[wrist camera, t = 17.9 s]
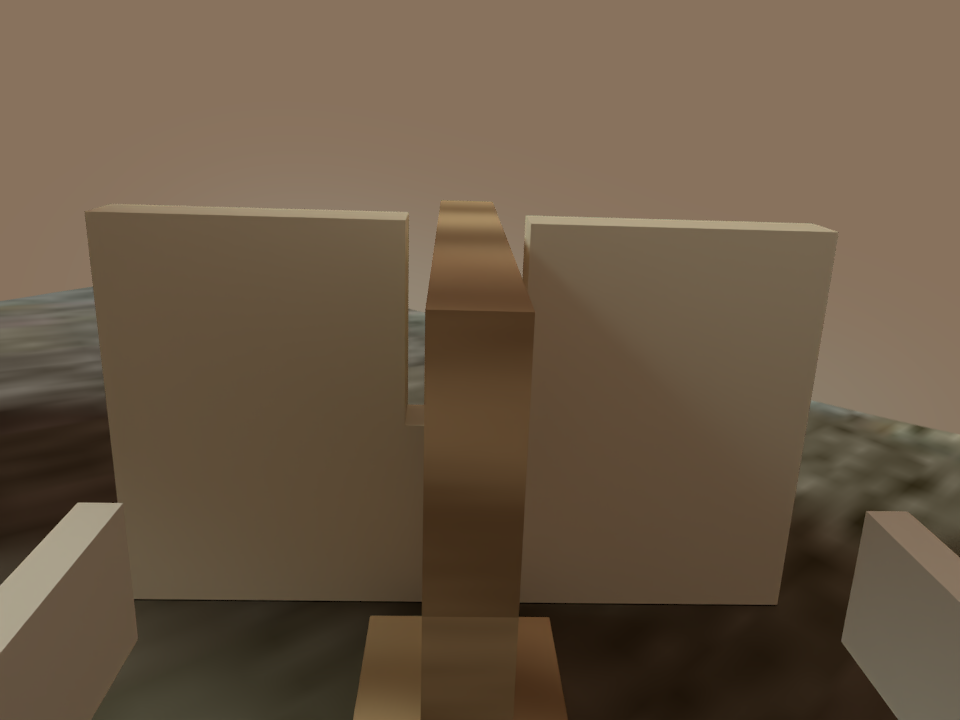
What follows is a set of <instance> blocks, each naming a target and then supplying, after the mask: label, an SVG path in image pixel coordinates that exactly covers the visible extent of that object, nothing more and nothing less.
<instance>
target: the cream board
mask: <svg viewBox="0 0 960 720" xmlns="http://www.w3.org/2000/svg"><path fill="white" fill-rule="evenodd" d="M85 219H86V228H87V237H88V246H89V255H90V264H91V272H92V281H93V290H94V299H95V308H96V316H97V325H98V334H99V343H100V352H101V360H102V369H103V378H104V387H105V396H106V404H107V413H108V422H109V431H110V440H111V448H112V457H113V466H114V475H115V484H116V492H117V501H118V503H123V507H124V516H125V525H126V534H127V543H128V552H129V561H130V570H131V579H132V588H133V597H134V599H189V600H299V601H408V602H422V559H423V475H424V405H408V261H409V260H408V259H409V258H408V257H409V255H408V254H409V253H408V252H409V251H408V250H409V246H408V245H409V212H382V211H347V210H343V211H342V210H311V209H309V210H308V209H274V208H240V207H204V206H203V207H201V206H167V205H164V206H163V205H132V204H108V205H105V206H101V207H98V208H95V209H91V210H88V211H85ZM525 222H526V223H525V241H524V262H523V282H524V285H525V287H526V290H527V292H528V295H529V298H530V300H531V303H532V305H533V308H534V310H535V324H534V343H533V362H532V380H531V399H530V417H529V436H528V455H527V473H526V492H525V510H524V529H523V548H522V566H521V585H520V603H627V604H736V605H777V603H778V597H779V591H780V585H781V579H782V573H783V567H784V561H785V555H786V549H787V543H788V537H789V530H790V524H791V518H792V512H793V506H794V500H795V494H796V488H797V482H798V476H799V470H800V464H801V457H802V451H803V445H804V439H805V433H806V427H807V421H808V415H809V409H810V403H811V397H812V391H813V384H814V378H815V372H816V366H817V360H818V354H819V348H820V342H821V335H822V329H823V324H824V317H825V311H826V305H827V299H828V293H829V286H830V281H831V275H832V269H833V263H834V256H835V251H836V244H837V238H838V232H836V231H833V230H830V229H827V228H824V227H821V226H818V225H815V224H811V223H774V222H739V221H704V220H702V221H701V220H668V219H667V220H666V219H632V218H595V217H560V216H559V217H558V216H526V221H525Z"/></svg>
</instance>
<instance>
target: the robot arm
mask: <svg viewBox="0 0 960 720" xmlns="http://www.w3.org/2000/svg"><path fill="white" fill-rule="evenodd" d="M137 640H138V632H137V623H136V614H135V606H134V597H133V588H132V579H131V570H130V561H129V552H128V543H127V534H126V525H125V516H124V507H123V503H77V504H76V505H75V506H74V507H73V508H72V509H71V510H70V511H69V513H68V514H67V515H66V516H65V517H64V518H63V519H62V520H61V521H60V522H59V523H58V524H57V525H56V526H55V528H54V529H53V530H52V531H51V532H50V533H49V534H48V535H47V536H46V537H45V538H44V539H43V540H42V541H41V543H40V544H39V545H38V546H37V547H36V548H35V549H34V550H33V551H32V552H31V553H30V554H29V555H28V556H27V558H26V559H25V560H24V561H23V562H22V563H21V564H20V565H19V566H18V567H17V568H16V569H15V570H14V571H13V573H12V574H11V575H10V576H9V577H8V578H7V579H6V580H5V581H4V582H3V583H2V584H1V585H0V720H91V719H92V717H93V716H94V714H95V712H96V711H97V709H98V707H99V705H100V704H101V702H102V700H103V699H104V697H105V695H106V693H107V692H108V690H109V688H110V686H111V685H112V683H113V681H114V680H115V678H116V676H117V674H118V673H119V671H120V669H121V668H122V666H123V664H124V662H125V661H126V659H127V657H128V656H129V654H130V652H131V650H132V649H133V647H134V645H135V644H136V642H137ZM841 642H842V643H843V645H844V646H845V647H846V649H847V650H848V652H849V653H850V654H851V656H852V657H853V658H854V660H855V661H856V663H857V664H858V665H859V667H860V668H861V669H862V671H863V672H864V674H865V675H866V676H867V678H868V679H869V680H870V682H871V683H872V684H873V686H874V687H875V689H876V690H877V691H878V693H879V694H880V695H881V697H882V698H883V700H884V701H885V702H886V704H887V705H888V706H889V708H890V709H891V711H892V712H893V713H894V715H895V716H896V717H897V719H898V720H960V557H958V556H957V555H956V554H955V553H954V552H953V551H952V550H951V549H949V548H948V547H947V546H946V545H945V544H944V543H943V542H942V541H940V540H939V539H938V538H937V537H936V536H935V535H934V534H933V533H931V532H930V531H929V530H928V529H927V528H926V527H925V526H924V525H922V524H921V523H920V522H919V521H918V520H917V519H916V518H915V517H913V516H912V515H911V514H910V513H909V512H903V511H866V515H865V520H864V525H863V531H862V536H861V541H860V546H859V551H858V556H857V562H856V567H855V572H854V577H853V582H852V588H851V593H850V598H849V603H848V608H847V613H846V619H845V624H844V629H843V634H842V639H841Z"/></svg>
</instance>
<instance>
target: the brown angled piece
mask: <svg viewBox="0 0 960 720" xmlns="http://www.w3.org/2000/svg"><path fill="white" fill-rule="evenodd" d="M425 310H426V311H425V391H424V475H423V559H422V616H370V620H369V626H368V632H367V638H366V645H365V651H364V657H363V663H362V669H361V675H360V681H359V687H358V693H357V699H356V705H355V711H354V717H353V720H568V717H567V711H566V706H565V700H564V695H563V689H562V684H561V678H560V673H559V668H558V662H557V657H556V651H555V646H554V640H553V635H552V630H551V624H550V619H549V617H519V603H520V585H521V566H522V548H523V529H524V510H525V492H526V473H527V455H528V436H529V417H530V399H531V380H532V362H533V343H534V324H535V310H534V308H533V305H532V303H531V300H530V298H529V295H528V292H527V290H526V287H525V285H524V282H523V279H522V277H521V274H520V272H519V269H518V267H517V264H516V261H515V259H514V256H513V253H512V251H511V248H510V246H509V243H508V241H507V238H506V235H505V233H504V230H503V228H502V225H501V223H500V220H499V217H498V215H497V212H496V209H495V207H494V204H493V202H483V201H448V200H447V201H446V200H441V204H440V211H439V218H438V225H437V232H436V239H435V246H434V253H433V260H432V267H431V274H430V281H429V289H428V295H427V303H426V309H425Z"/></svg>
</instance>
